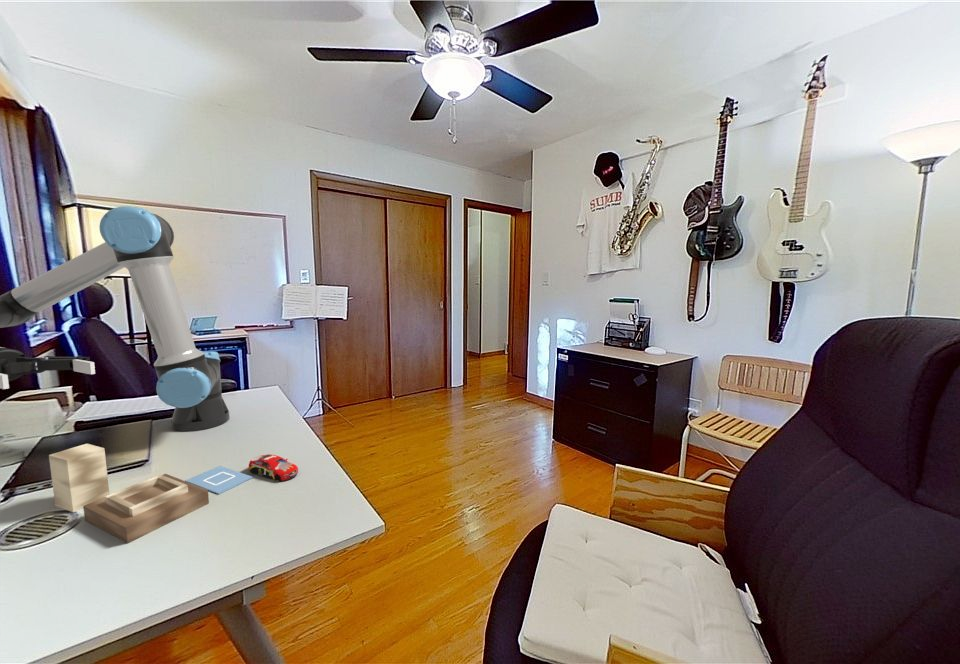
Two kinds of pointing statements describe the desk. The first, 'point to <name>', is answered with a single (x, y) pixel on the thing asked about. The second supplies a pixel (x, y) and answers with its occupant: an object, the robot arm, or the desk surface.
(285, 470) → the race car
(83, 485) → the pillar
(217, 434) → the desk surface
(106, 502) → the base plate
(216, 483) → the blueprint card
